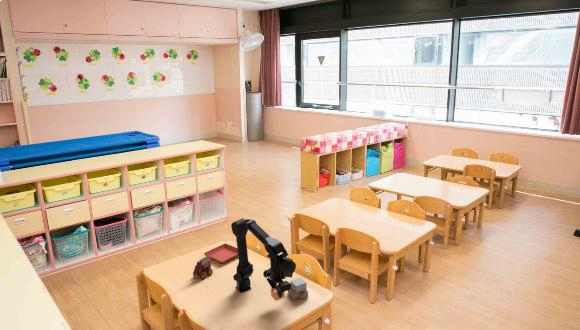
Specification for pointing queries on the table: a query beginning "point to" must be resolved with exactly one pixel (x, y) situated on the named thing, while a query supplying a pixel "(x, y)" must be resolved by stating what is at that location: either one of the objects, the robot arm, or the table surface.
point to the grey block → (298, 285)
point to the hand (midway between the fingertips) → (277, 294)
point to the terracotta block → (276, 294)
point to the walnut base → (298, 294)
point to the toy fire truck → (203, 268)
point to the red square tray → (222, 253)
